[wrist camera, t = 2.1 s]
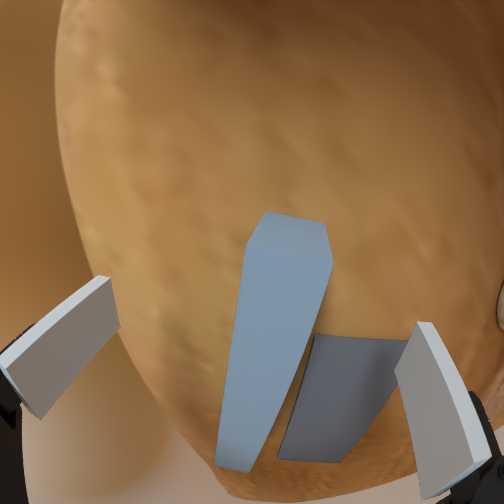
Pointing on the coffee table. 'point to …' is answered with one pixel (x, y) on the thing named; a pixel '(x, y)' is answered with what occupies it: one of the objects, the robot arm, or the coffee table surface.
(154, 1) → the coffee table surface
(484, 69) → the coffee table surface
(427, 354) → the robot arm
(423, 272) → the coffee table surface
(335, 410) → the mat
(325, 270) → the stick
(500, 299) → the hand bell
